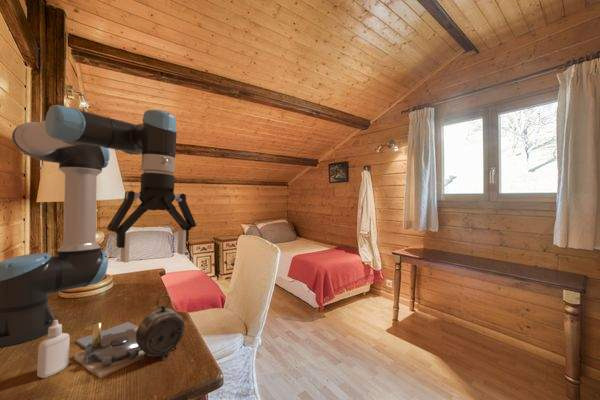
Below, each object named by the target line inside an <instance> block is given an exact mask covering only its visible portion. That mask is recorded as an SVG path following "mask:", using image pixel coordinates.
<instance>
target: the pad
mask: <svg viewBox="0 0 600 400" xmlns="http://www.w3.org/2000/svg"><path fill="white" fill-rule="evenodd" d="M138 327H139V326H138V325H135V324H133V323H131V322H130V321H127V322H124V323H121V324H118V325H115V326H113V327H110V328H107V329H103V330H101V339H102V336H104V335H107V334H110V333H111V334H117V333H121V332H125V331H126V330H129V329H134V331H137V330H138ZM92 338H93V333H92V334H90V335H87V336H84V337H81V338H78V339H76V340H75V343H76V344H78V345H79V346H80V347H82V348H83V349H85V347H86V346H87V345H88V344H89V343H92Z"/></svg>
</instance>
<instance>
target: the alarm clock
mask: <svg viewBox="0 0 600 400" xmlns="http://www.w3.org/2000/svg"><path fill="white" fill-rule="evenodd" d="M163 297H167V298H168V302H167V304H163V305H161V306H160V305H159V301H160V299H161V298H163ZM170 302H171V297H170V296H169V295H168V294H163V295H160V296H159V297H158V299H157V301H156V306H157V307H158V308H159V309H156V310H154V311H151V312H150V313H149V314H147V316H146V317H145V318H143V320H142V321H141V322H140V324H139V326H138V330H137V333H136V341H137V344H138V346H139V347H140V348H141V349H142V350H143V352H144V353H145V354H144V356H143V358H142V359H140V360H139V361H140V363H143V362H144V360H145V359H146V358H147V357H148V356H150V357H159V356H160V357H161V358H162V361H165V360H166V354H167V353H169V352H170V351H172V350H177V348H178V347H177V345H178V344H179V343H180V342H181V340H182V337H183V335H184V334H185V327H186V325H185V321H184V318H183V317H182V316H181V315H180V313H178V312H176V310H173V309H172V308H169V307H168V305H169V304H170ZM166 307H167V308H166ZM147 355H148V356H147Z"/></svg>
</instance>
